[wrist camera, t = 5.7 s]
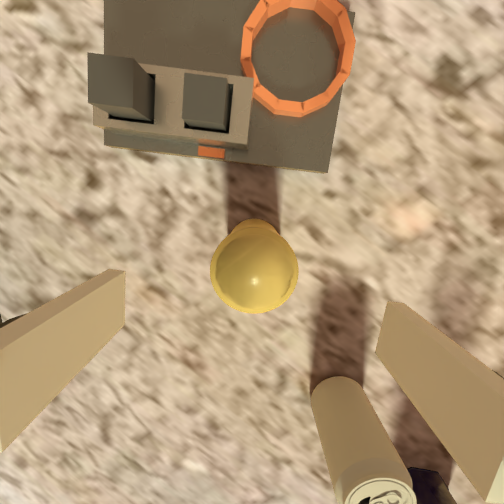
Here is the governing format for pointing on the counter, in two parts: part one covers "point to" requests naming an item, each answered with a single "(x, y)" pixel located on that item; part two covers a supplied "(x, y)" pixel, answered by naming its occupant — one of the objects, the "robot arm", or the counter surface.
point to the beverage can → (358, 447)
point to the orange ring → (337, 18)
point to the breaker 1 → (121, 87)
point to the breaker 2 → (206, 103)
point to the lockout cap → (254, 268)
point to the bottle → (429, 487)
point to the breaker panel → (227, 66)
